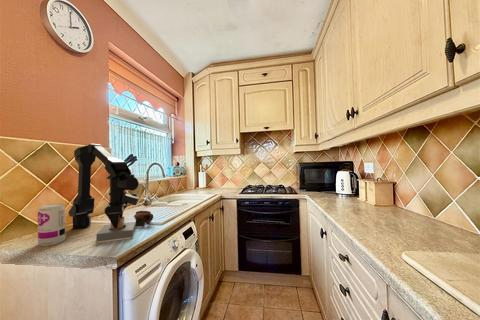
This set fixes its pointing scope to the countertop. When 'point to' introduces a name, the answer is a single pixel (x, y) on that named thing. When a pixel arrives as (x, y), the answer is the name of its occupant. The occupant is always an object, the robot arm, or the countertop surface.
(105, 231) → the charcoal well block
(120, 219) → the wooden toy block
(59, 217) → the supplement can
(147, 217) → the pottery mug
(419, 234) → the countertop surface
